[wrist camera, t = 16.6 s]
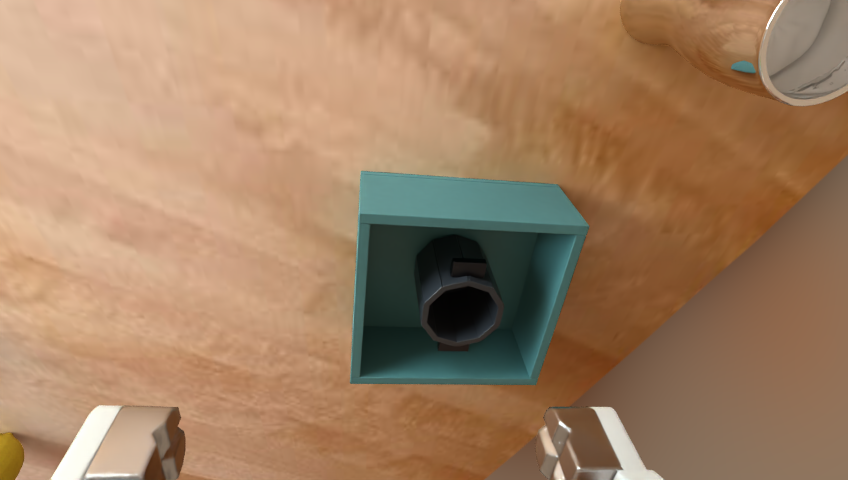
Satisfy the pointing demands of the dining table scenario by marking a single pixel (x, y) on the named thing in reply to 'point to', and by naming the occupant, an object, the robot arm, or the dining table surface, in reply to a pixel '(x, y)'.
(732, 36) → the beer glass
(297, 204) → the dining table surface
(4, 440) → the lemon
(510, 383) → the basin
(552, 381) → the dining table surface
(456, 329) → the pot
